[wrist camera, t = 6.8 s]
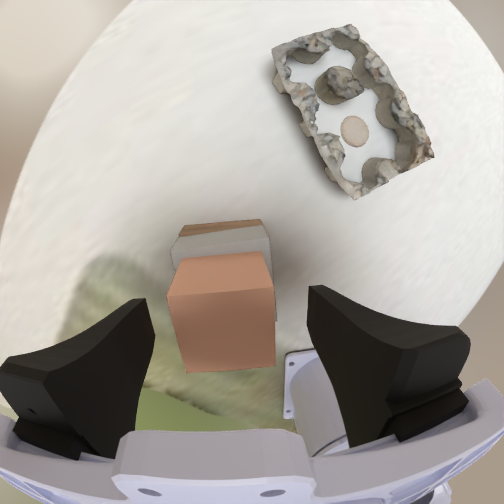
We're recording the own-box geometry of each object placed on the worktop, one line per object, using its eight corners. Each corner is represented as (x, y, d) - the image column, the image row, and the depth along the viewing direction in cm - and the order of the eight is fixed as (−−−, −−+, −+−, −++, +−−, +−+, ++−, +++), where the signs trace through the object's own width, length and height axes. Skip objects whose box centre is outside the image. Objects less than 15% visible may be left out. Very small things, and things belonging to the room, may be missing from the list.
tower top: (271, 299, 18) (277, 321, 15) (194, 310, 17) (191, 332, 15) (262, 225, 16) (269, 237, 14) (178, 237, 16) (169, 251, 13)
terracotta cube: (264, 317, 15) (275, 365, 11) (194, 323, 15) (186, 372, 11) (261, 250, 14) (273, 286, 10) (182, 257, 14) (166, 296, 10)
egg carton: (406, 159, 18) (440, 164, 14) (327, 200, 18) (353, 213, 14) (345, 35, 14) (370, 14, 10) (255, 64, 15) (263, 40, 11)
